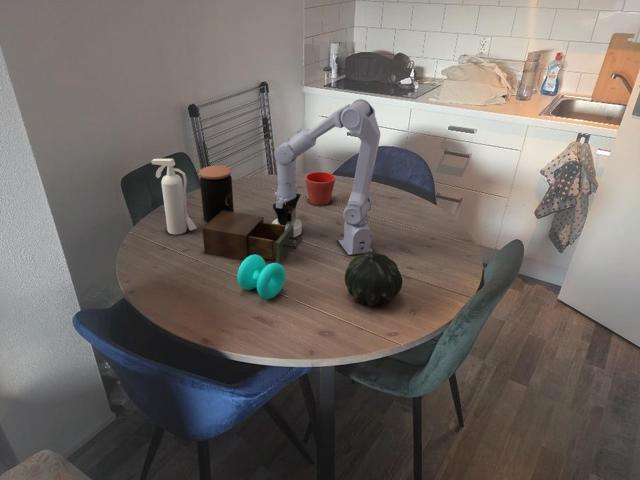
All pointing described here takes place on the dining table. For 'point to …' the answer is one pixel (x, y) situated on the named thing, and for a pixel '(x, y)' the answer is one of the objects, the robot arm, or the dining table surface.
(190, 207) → the dining table surface
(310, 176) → the flower pot
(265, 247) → the drawer
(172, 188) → the fire extinguisher
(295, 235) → the white ridged disc
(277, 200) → the robot arm
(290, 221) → the cube with black handle
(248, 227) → the cabinet
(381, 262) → the squash
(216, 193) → the coffee jar
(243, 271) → the teal yo-yo
